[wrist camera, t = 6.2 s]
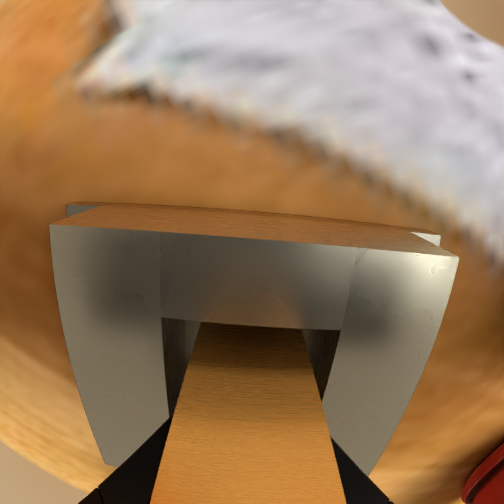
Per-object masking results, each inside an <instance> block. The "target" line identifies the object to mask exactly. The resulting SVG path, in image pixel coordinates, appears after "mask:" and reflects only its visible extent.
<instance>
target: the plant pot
mask: <svg viewBox="0 0 504 504" xmlns="http://www.w3.org/2000/svg"><path fill="white" fill-rule="evenodd" d="M462 501H463V502H464V503H465V504H504V443H503V444H502V445H500V446H499V447H498V448H497V449H496V450H495V451H493V452H492V453H491V454H490V455H489V456H488V457H487V458H486V459H485V460H484V461H483V462H482V463H481V464H480V465H479V466H478V467H477V468H476V470H475V471H474V472H473V473H472V475H471V476H470V477H469V479H468V480H467V482H466V484H465V486H464V488H463V491H462Z"/></svg>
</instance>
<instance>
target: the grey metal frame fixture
mask: <svg viewBox="0 0 504 504" xmlns="http://www.w3.org/2000/svg"><path fill="white" fill-rule="evenodd" d="M49 228H50V242H51V253H52V263H53V272H54V280H55V287H56V294H57V300H58V306H59V312H60V317H61V322H62V327H63V332H64V337H65V341H66V346H67V350H68V354H69V358H70V362H71V366H72V370H73V374H74V377H75V381H76V384H77V388H78V391H79V394H80V397H81V401H82V404H83V407H84V410H85V413H86V416H87V418H88V421H89V424H90V427H91V430H92V432H93V435H94V437H95V440H96V443H97V445H98V448H99V450H100V452H101V455H102V457H103V460H104V462H105V464H108V465H111V466H115V467H119V466H120V465H121V464H122V463H123V462H124V461H126V460H127V459H128V458H129V457H130V456H131V455H132V454H133V453H134V452H135V451H136V450H137V449H138V448H139V447H140V446H141V445H142V444H143V443H144V442H145V441H146V440H147V439H148V438H149V437H150V436H151V435H152V434H153V433H154V432H155V431H156V430H157V429H158V428H159V427H160V426H161V425H162V424H163V423H164V422H165V421H166V420H167V419H168V418H169V417H170V416H171V415H172V414H173V413H174V412H175V408H176V405H177V401H178V398H179V394H180V391H181V387H182V384H183V380H184V377H185V373H186V370H187V367H188V363H189V360H190V357H191V353H192V350H193V346H194V343H195V340H196V336H197V333H198V330H199V327H200V323H201V322H212V323H223V324H235V325H248V326H262V327H279V328H298V329H302V332H303V336H304V339H305V343H306V347H307V350H308V354H309V358H310V361H311V365H312V369H313V372H314V376H315V380H316V384H317V387H318V391H319V395H320V399H321V403H322V407H323V410H324V414H325V418H326V422H327V426H328V430H329V434H330V436H331V437H332V438H333V439H334V440H335V441H336V442H337V444H338V445H339V446H340V447H341V448H342V449H343V450H344V451H345V452H346V454H347V455H348V456H349V457H350V458H351V459H352V460H353V461H354V462H355V463H356V465H357V466H358V467H359V468H360V469H361V470H362V471H363V472H364V473H365V474H366V475H367V476H369V474H370V473H371V471H372V469H373V468H374V466H375V465H376V463H377V461H378V460H379V458H380V456H381V455H382V453H383V451H384V450H385V448H386V446H387V444H388V442H389V441H390V439H391V437H392V435H393V433H394V432H395V430H396V428H397V426H398V424H399V422H400V420H401V418H402V416H403V414H404V412H405V410H406V408H407V406H408V404H409V402H410V400H411V398H412V395H413V393H414V391H415V389H416V387H417V384H418V382H419V380H420V377H421V375H422V373H423V370H424V368H425V365H426V363H427V360H428V358H429V355H430V353H431V350H432V347H433V345H434V342H435V339H436V336H437V334H438V331H439V328H440V325H441V322H442V319H443V316H444V313H445V309H446V306H447V303H448V299H449V296H450V293H451V289H452V285H453V282H454V278H455V274H456V270H457V266H458V262H459V257H457V256H456V255H454V254H452V253H450V252H448V251H446V250H445V249H443V248H441V247H439V244H440V239H441V235H439V234H436V233H434V232H432V231H427V230H420V229H412V228H405V227H397V226H389V225H381V224H373V223H364V222H356V221H347V220H338V219H329V218H319V217H309V216H299V215H288V214H277V213H266V212H254V211H242V210H229V209H215V208H200V207H184V206H167V205H148V204H126V203H100V202H75V203H71V204H68V205H67V218H65V219H62V220H60V221H57V222H54V223H52V224H49Z"/></svg>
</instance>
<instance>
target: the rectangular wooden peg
mask: <svg viewBox="0 0 504 504" xmlns="http://www.w3.org/2000/svg"><path fill="white" fill-rule="evenodd" d="M150 504H346V500H345V496H344V491H343V487H342V483H341V479H340V475H339V470H338V466H337V462H336V458H335V454H334V450H333V446H332V442H331V438H330V434H329V430H328V426H327V422H326V418H325V414H324V410H323V407H322V403H321V399H320V395H319V391H318V387H317V384H316V380H315V376H314V372H313V369H312V365H311V361H310V358H309V354H308V350H307V347H306V343H305V339H304V336H303V332H302V329H298V328H279V327H262V326H248V325H235V324H223V323H212V322H201V323H200V327H199V330H198V333H197V336H196V340H195V343H194V346H193V350H192V353H191V357H190V360H189V363H188V367H187V370H186V373H185V377H184V380H183V384H182V387H181V391H180V394H179V398H178V401H177V405H176V408H175V412H174V415H173V419H172V422H171V426H170V430H169V433H168V437H167V441H166V444H165V448H164V452H163V455H162V459H161V463H160V466H159V470H158V474H157V478H156V482H155V486H154V489H153V493H152V497H151V501H150Z"/></svg>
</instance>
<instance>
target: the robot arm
mask: <svg viewBox="0 0 504 504" xmlns="http://www.w3.org/2000/svg"><path fill="white" fill-rule="evenodd" d="M173 415H174V413H173V414H172V415H171V416H170V417H169V418H168V419H167V420H166V421H165V422H164V423H163V424H162V425H161V426H160V427H159V428H158V429H157V430H156V431H155V432H154V433H153V434H152V435H151V436H150V437H149V438H148V439H147V440H146V441H145V442H144V443H143V444H142V445H141V446H140V447H139V448H138V449H137V450H136V451H135V452H134V453H133V454H132V455H131V456H130V457H129V458H128V459H127V460H126V461H124V462H123V463H122V464H121V465H120V466H119V467H118V468H117V469H116V470H115V471H114V472H113V473H112V474H111V475H110V476H109V477H107V478H106V479H105V480H104V481H103V482H102V483H101V484H100V485H99V486H98V488H95V489H94V490H93V491H92V492H91V493H90V494H89V495H88V496H86V497H85V498H84V499H83V500H82V501H80V502H79V503H78V504H150V501H151V497H152V493H153V489H154V486H155V482H156V478H157V474H158V470H159V466H160V463H161V459H162V455H163V452H164V448H165V444H166V441H167V437H168V433H169V430H170V426H171V422H172V419H173ZM330 438H331V442H332V446H333V450H334V454H335V458H336V462H337V466H338V470H339V475H340V479H341V483H342V487H343V491H344V496H345V500H346V504H394V503H393V502H392V501H390V499H389V498H388V497H387V496H386V495H385V494H384V493H383V492H382V491H381V490H380V489H379V488H378V487H377V486H376V485H375V484H374V483H373V482H372V481H371V480H370V478H369V477H368V476H367V475H366V474H365V473H364V472H363V471H362V470H361V469H360V468H359V467H358V466H357V465H356V463H355V462H354V461H353V460H352V459H351V458H350V457H349V456H348V455H347V454H346V452H345V451H344V450H343V449H342V448H341V447H340V446H339V445H338V444H337V442H336V441H335V440H334V439H333V438H332V437H331V436H330ZM389 501H390V502H389Z"/></svg>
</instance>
